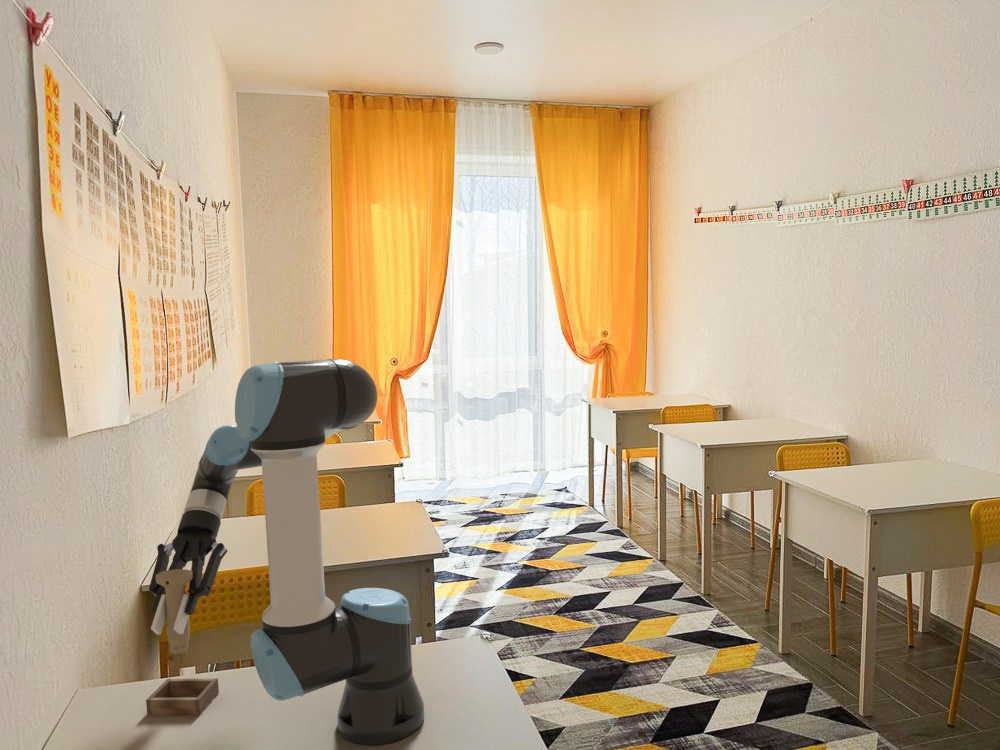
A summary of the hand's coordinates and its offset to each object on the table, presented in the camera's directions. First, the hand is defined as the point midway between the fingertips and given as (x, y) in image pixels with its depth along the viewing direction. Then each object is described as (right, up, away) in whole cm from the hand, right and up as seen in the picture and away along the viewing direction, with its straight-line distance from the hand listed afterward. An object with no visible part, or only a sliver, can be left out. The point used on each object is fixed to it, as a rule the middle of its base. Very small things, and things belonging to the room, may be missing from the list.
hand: (167, 631), depth 133 cm
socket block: (+1, -15, +5) cm, 16 cm away
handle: (0, -5, +4) cm, 7 cm away
